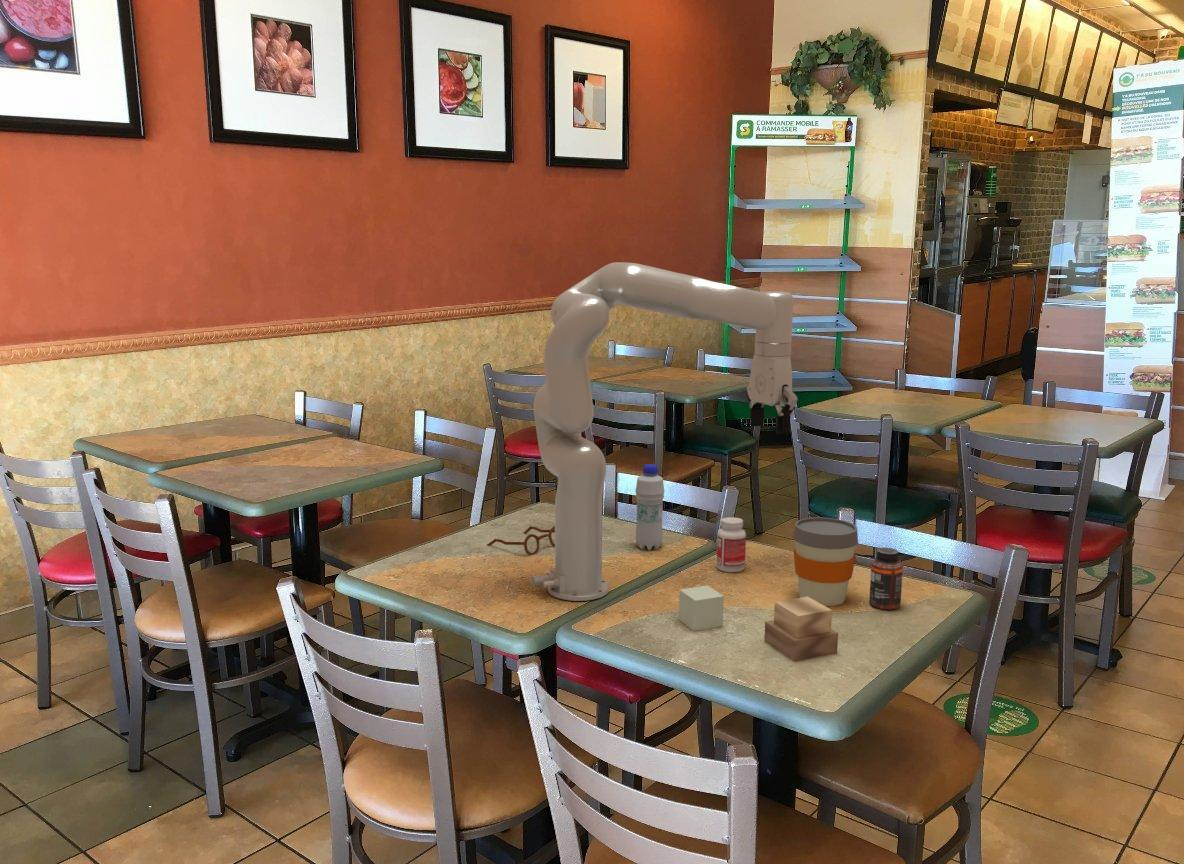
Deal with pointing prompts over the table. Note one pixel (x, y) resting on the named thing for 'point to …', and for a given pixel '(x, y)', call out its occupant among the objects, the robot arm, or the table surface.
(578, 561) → the robot arm
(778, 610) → the oak block
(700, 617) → the sage cube
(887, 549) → the supplement bottle
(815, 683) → the table surface
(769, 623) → the walnut block
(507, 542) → the glasses
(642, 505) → the bottle
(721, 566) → the pill bottle
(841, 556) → the reusable coffee cup
